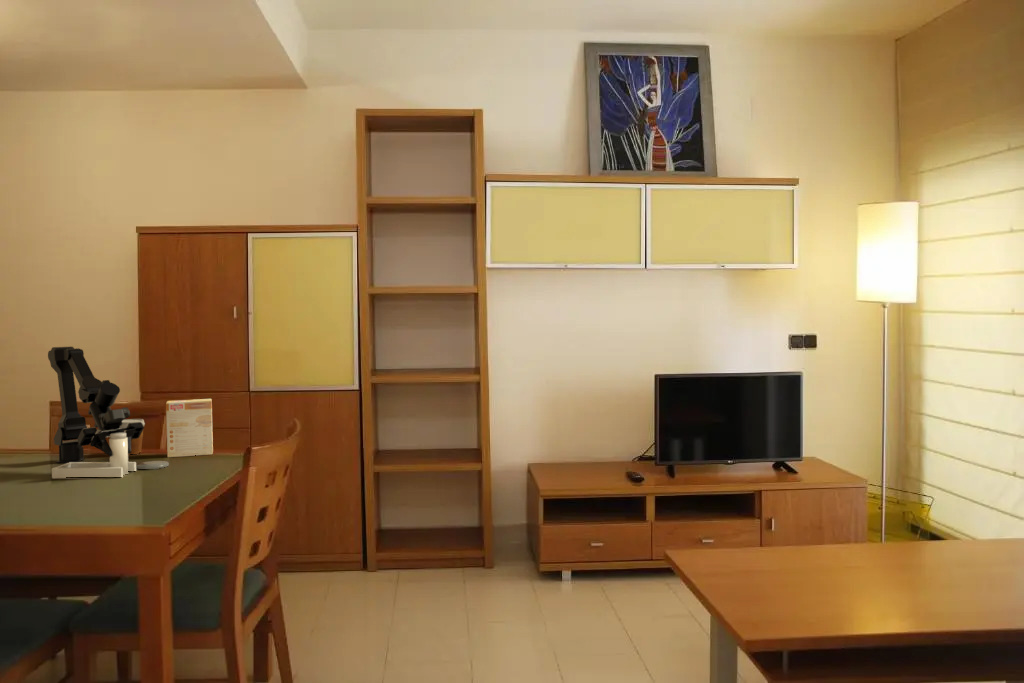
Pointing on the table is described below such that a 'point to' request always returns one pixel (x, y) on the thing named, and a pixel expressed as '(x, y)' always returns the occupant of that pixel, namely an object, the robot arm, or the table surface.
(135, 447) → the disposable coffee cup
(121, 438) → the salt mill
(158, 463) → the coaster
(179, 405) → the coffeecake box
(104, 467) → the channel
